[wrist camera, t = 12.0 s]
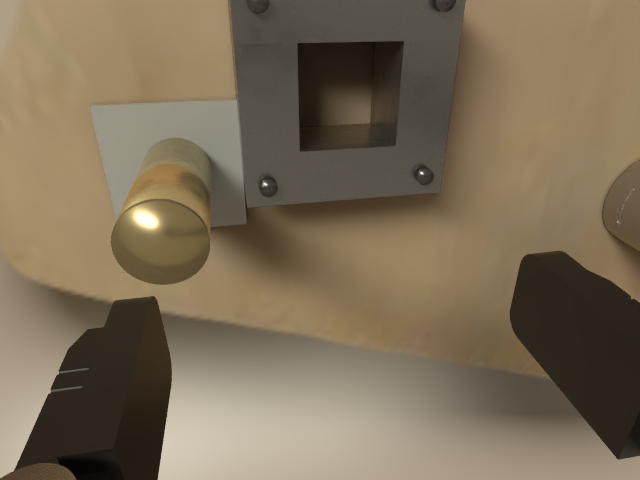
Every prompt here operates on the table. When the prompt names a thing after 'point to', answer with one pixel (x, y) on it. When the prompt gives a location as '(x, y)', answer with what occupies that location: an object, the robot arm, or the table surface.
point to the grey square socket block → (344, 140)
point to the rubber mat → (173, 122)
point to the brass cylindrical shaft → (166, 215)
